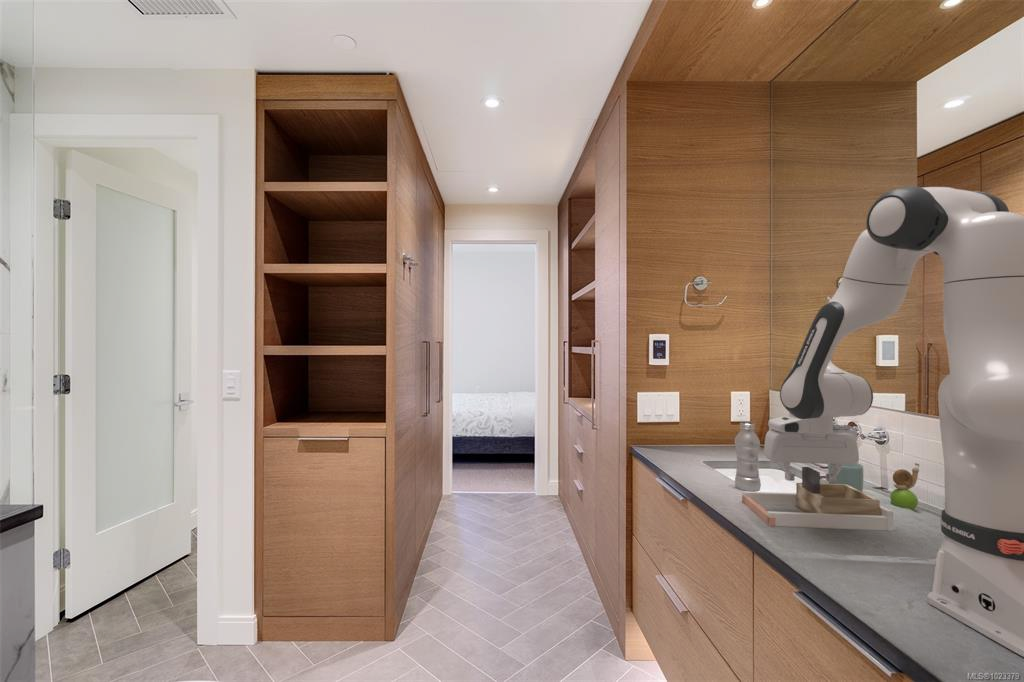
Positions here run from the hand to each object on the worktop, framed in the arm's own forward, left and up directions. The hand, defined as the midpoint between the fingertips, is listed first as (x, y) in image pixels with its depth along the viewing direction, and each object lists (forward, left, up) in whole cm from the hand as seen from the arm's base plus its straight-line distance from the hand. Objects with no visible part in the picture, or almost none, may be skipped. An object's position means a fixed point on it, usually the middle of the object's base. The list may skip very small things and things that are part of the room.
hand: (810, 480), depth 110 cm
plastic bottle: (+20, +7, -10) cm, 23 cm away
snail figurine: (+10, -28, -10) cm, 31 cm away
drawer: (0, -6, -8) cm, 10 cm away
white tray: (0, 0, -9) cm, 9 cm away
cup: (+16, -17, -10) cm, 25 cm away
